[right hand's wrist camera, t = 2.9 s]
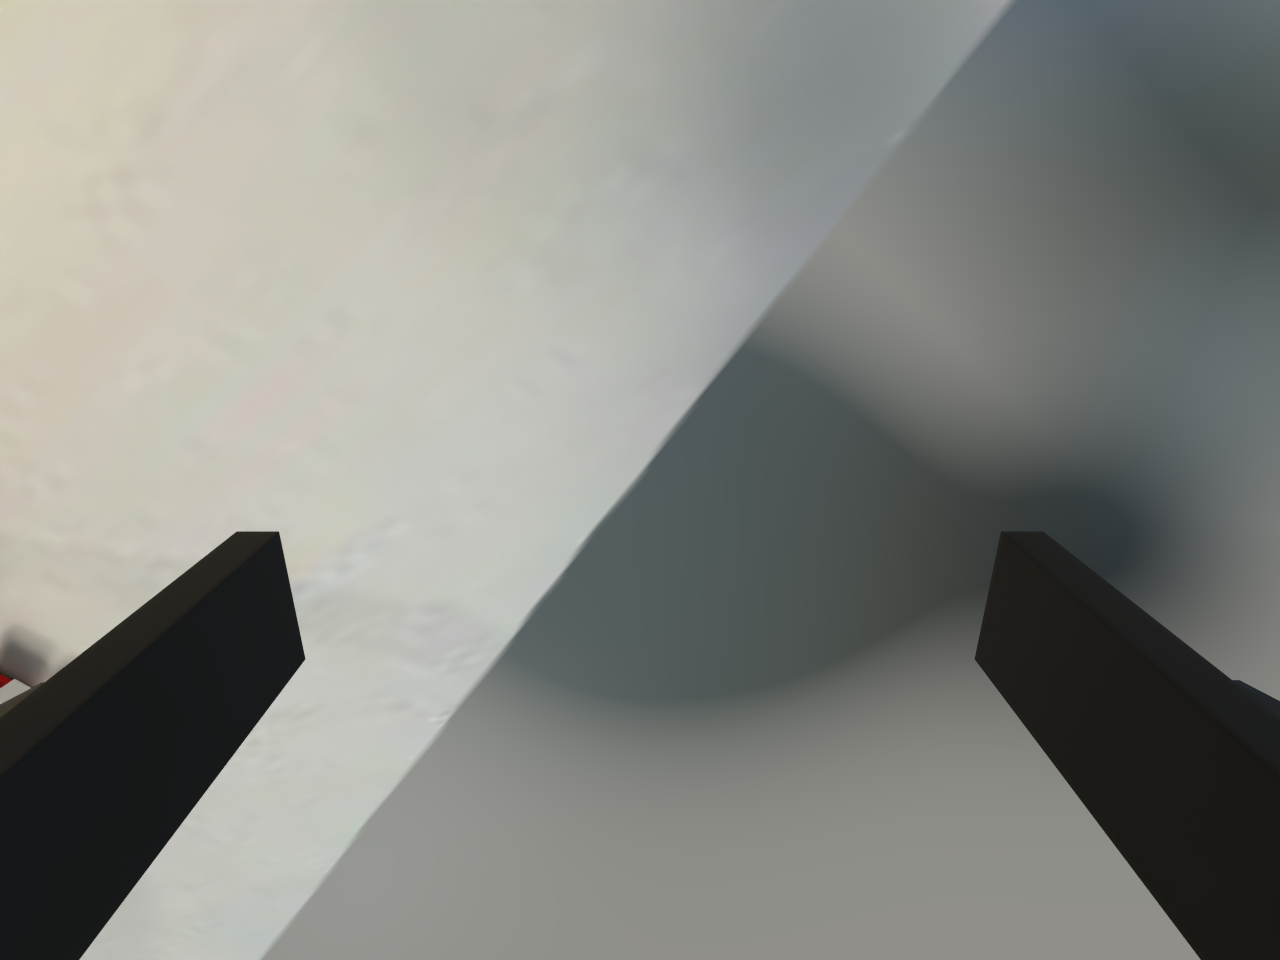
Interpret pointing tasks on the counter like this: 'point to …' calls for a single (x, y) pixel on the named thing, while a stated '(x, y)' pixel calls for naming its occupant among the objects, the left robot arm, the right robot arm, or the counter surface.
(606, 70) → the counter surface
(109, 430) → the counter surface
